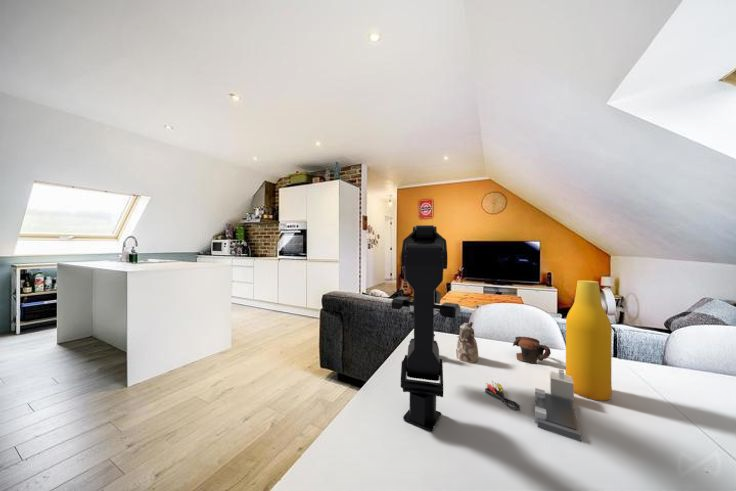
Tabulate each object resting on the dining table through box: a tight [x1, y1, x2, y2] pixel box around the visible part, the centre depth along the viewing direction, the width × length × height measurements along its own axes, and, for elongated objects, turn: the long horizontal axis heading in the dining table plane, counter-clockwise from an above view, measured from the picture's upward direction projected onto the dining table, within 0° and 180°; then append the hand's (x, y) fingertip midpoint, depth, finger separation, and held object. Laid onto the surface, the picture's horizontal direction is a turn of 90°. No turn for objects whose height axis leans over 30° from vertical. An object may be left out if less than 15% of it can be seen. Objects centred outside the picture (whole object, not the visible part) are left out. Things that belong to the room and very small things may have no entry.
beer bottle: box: [565, 279, 613, 402], centre depth 67 cm, size 9×9×29 cm
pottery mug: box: [512, 336, 552, 365], centre depth 87 cm, size 12×9×8 cm
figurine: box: [455, 321, 479, 364], centre depth 87 cm, size 7×7×12 cm
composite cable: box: [484, 380, 521, 412], centre depth 63 cm, size 10×5×2 cm, turn 6°
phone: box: [534, 387, 582, 442], centre depth 57 cm, size 14×8×2 cm, turn 147°
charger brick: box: [549, 368, 575, 405], centre depth 64 cm, size 4×4×7 cm
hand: (423, 336), depth 72 cm, fingers closed
